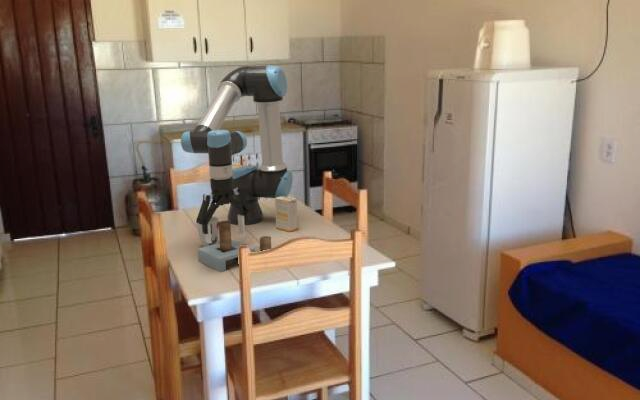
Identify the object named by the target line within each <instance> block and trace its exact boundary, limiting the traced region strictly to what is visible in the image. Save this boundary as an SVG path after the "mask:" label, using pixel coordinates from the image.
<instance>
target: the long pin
mask: <svg viewBox="0 0 640 400" xmlns="http://www.w3.org/2000/svg"><path fill="white" fill-rule="evenodd" d="M218 224H219V230H218V239H219V243H220V251H221V252H223V253H224V252H228V251H231V250H232V242H231V240H232V228H231V223H230V221H228V220H221V221H219V222H218ZM233 259H234V258H233ZM233 259H230V260H227V261H225V262H226V264H230V263H232V262H233Z"/></svg>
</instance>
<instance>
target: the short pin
mask: <svg viewBox="0 0 640 400" xmlns="http://www.w3.org/2000/svg"><path fill="white" fill-rule="evenodd" d="M267 249H271V250H272V237H271V236H268V235H262V236H261V237H259V252H260V251H263V250H267Z"/></svg>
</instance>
